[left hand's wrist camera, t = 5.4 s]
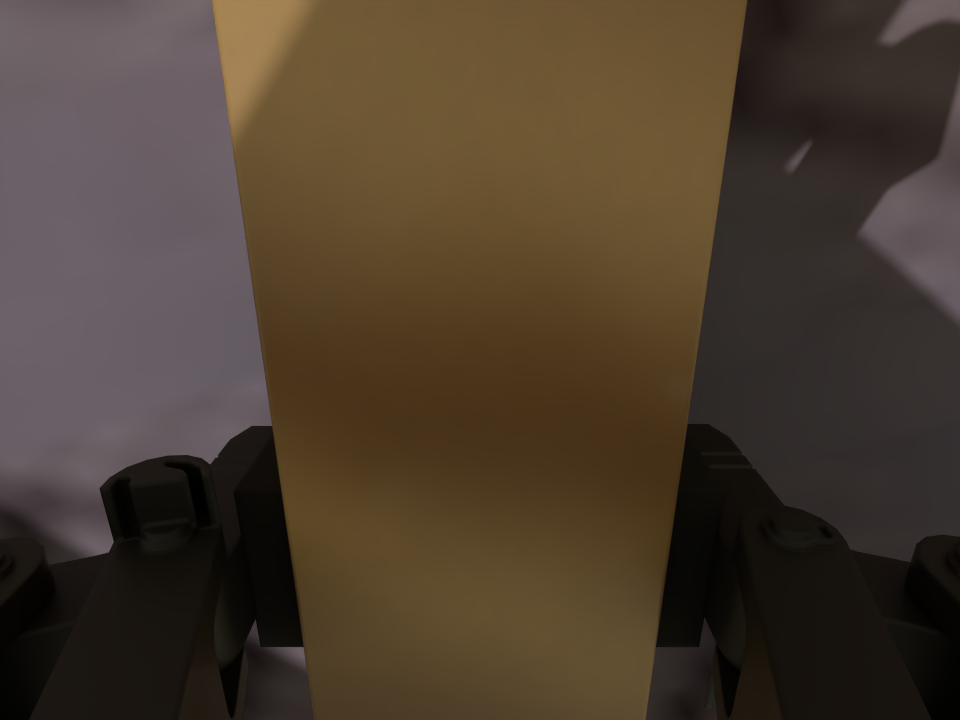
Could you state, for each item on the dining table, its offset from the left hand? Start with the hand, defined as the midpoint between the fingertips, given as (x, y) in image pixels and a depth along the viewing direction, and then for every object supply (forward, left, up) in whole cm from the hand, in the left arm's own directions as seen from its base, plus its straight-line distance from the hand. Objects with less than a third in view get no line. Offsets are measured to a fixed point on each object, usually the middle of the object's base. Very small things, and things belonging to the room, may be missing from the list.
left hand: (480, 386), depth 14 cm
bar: (+34, 0, -1) cm, 34 cm away
